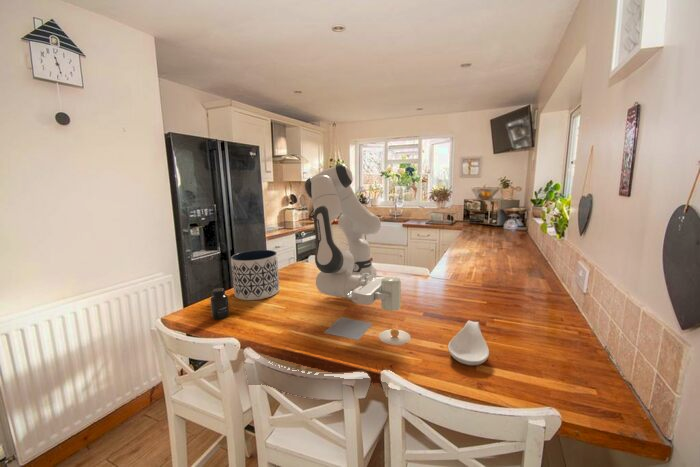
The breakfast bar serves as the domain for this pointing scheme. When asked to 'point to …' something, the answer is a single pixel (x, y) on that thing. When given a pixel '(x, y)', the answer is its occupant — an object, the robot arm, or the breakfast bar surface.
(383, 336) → the coaster
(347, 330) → the felt mat
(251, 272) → the planter
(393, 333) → the ball
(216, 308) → the supplement bottle
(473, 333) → the spoon rest
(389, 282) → the grey rounded cylinder
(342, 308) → the breakfast bar surface
